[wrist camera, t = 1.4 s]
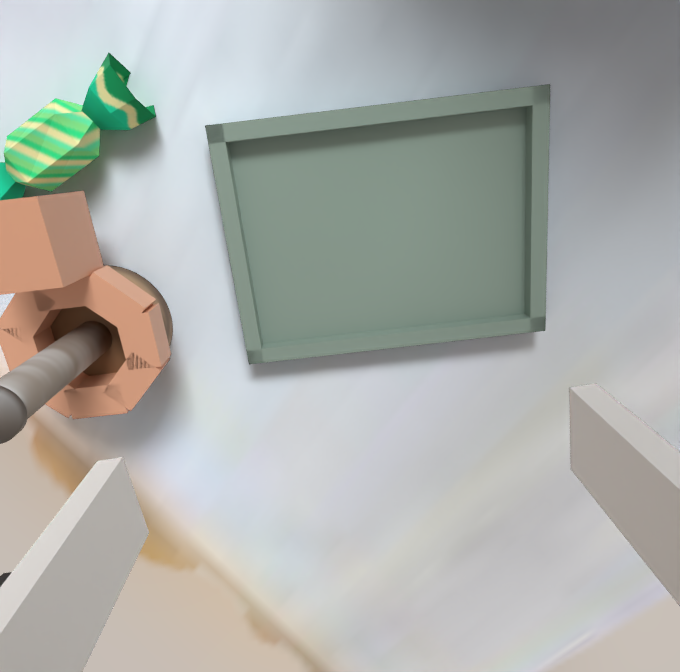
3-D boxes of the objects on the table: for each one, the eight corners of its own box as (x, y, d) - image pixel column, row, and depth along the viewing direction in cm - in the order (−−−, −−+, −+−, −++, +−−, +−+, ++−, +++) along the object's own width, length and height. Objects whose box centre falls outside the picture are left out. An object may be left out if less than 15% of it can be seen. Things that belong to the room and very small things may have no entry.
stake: (38, 272, 34) (-142, 341, 21) (157, 258, 34) (52, 318, 21) (72, 383, 36) (-69, 504, 23) (183, 370, 36) (104, 485, 23)
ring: (45, 409, 34) (-1, 450, 29) (-24, 203, 29) (-92, 211, 25) (180, 394, 33) (156, 432, 29) (131, 185, 29) (93, 189, 24)
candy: (108, 45, 29) (111, 73, 26) (151, 95, 31) (158, 125, 29) (-45, 165, 31) (-56, 202, 28) (8, 203, 33) (2, 241, 31)
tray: (252, 355, 36) (248, 364, 34) (211, 127, 31) (205, 125, 30) (536, 323, 36) (545, 330, 34) (539, 88, 31) (550, 84, 29)
